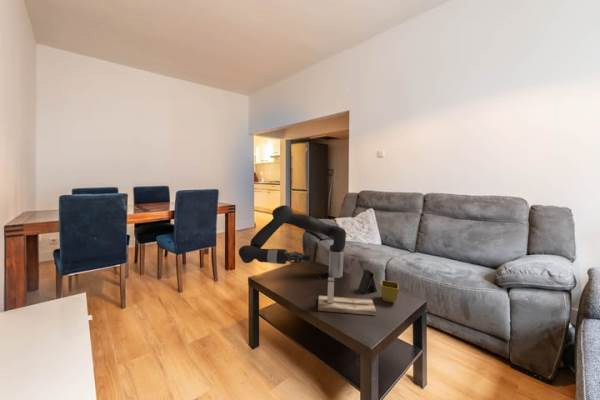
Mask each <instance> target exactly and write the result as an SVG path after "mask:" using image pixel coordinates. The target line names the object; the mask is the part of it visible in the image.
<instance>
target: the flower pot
mask: <svg viewBox="0 0 600 400" xmlns="http://www.w3.org/2000/svg"><path fill="white" fill-rule="evenodd" d="M380 287H381V289H380V291H381V297H382V300H383V302H387V303H393V304H394V303H395V302H396V300H397V299H398V295H399V290H400V288H399V282H395V281H390V280H389V281H388V280H381V286H380Z"/></svg>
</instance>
